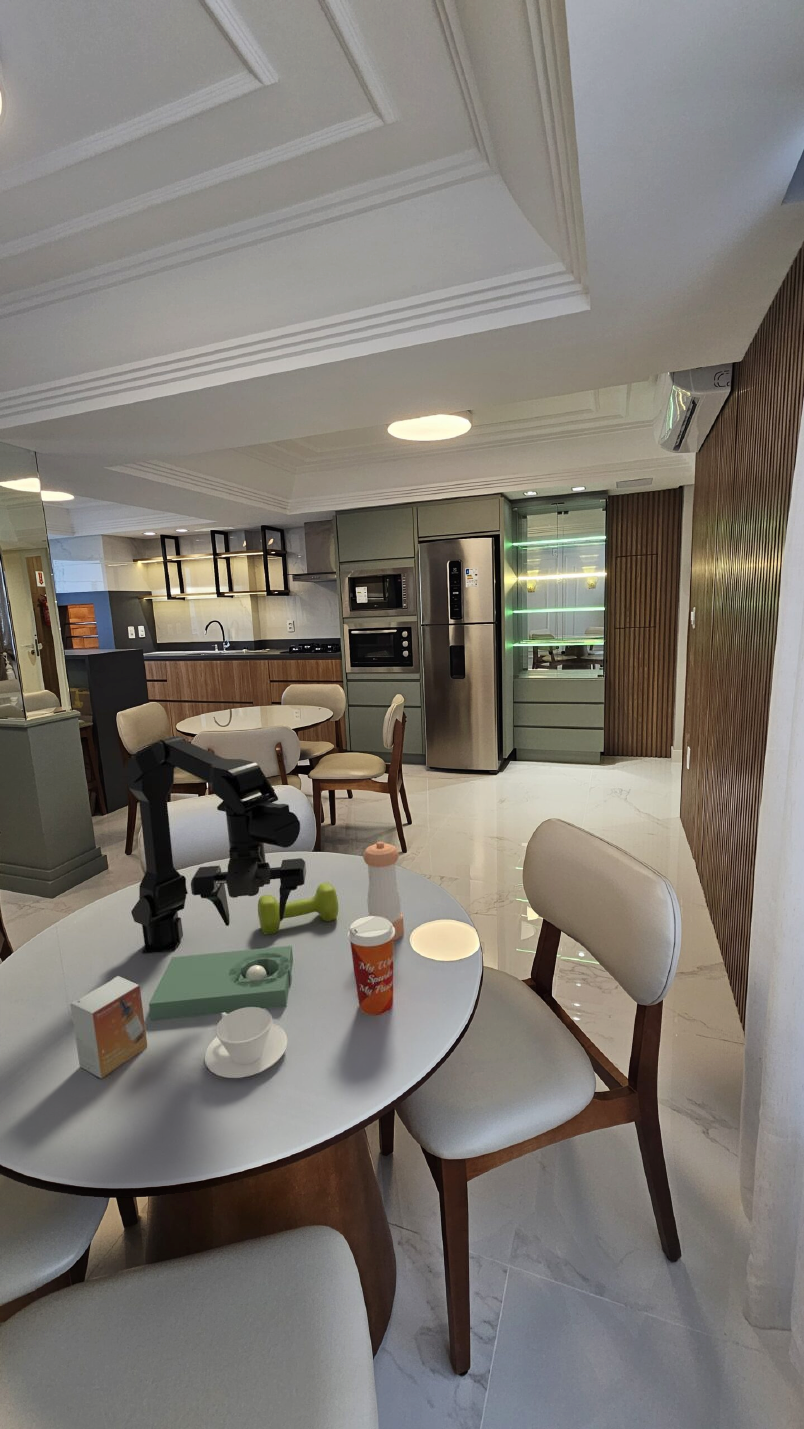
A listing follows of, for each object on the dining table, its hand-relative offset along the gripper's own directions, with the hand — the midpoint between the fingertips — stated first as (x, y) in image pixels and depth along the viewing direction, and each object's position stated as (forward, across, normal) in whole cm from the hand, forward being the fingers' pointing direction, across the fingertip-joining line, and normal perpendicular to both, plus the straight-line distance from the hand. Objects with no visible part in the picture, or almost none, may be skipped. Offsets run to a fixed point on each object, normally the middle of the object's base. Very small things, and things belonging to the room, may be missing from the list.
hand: (254, 922), depth 110 cm
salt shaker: (+12, +23, +14) cm, 30 cm away
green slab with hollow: (+12, -6, 0) cm, 13 cm away
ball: (+10, -1, 0) cm, 10 cm away
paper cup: (+12, +20, -9) cm, 25 cm away
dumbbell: (+12, +5, +21) cm, 25 cm away
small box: (+12, -20, -15) cm, 28 cm away
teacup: (+12, 0, -18) cm, 22 cm away
